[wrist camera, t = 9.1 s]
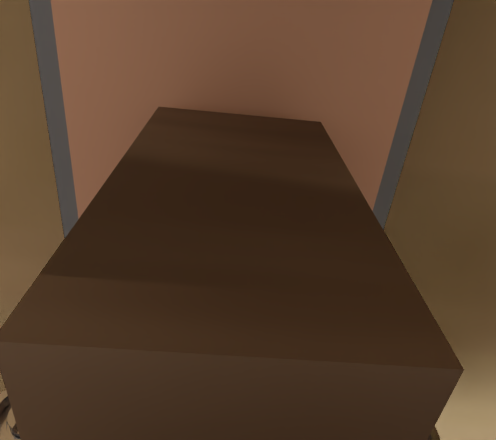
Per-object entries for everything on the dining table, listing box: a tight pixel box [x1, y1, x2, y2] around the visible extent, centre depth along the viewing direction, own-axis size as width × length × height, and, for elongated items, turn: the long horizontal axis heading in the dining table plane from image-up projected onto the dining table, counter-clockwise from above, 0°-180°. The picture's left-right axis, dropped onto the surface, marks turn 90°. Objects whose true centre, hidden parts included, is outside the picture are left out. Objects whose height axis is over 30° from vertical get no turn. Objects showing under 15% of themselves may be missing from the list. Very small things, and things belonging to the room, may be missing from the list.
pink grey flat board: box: [29, 0, 454, 238], centre depth 12 cm, size 9×44×1 cm, turn 174°
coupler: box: [0, 107, 464, 440], centre depth 8 cm, size 9×4×7 cm, turn 174°
